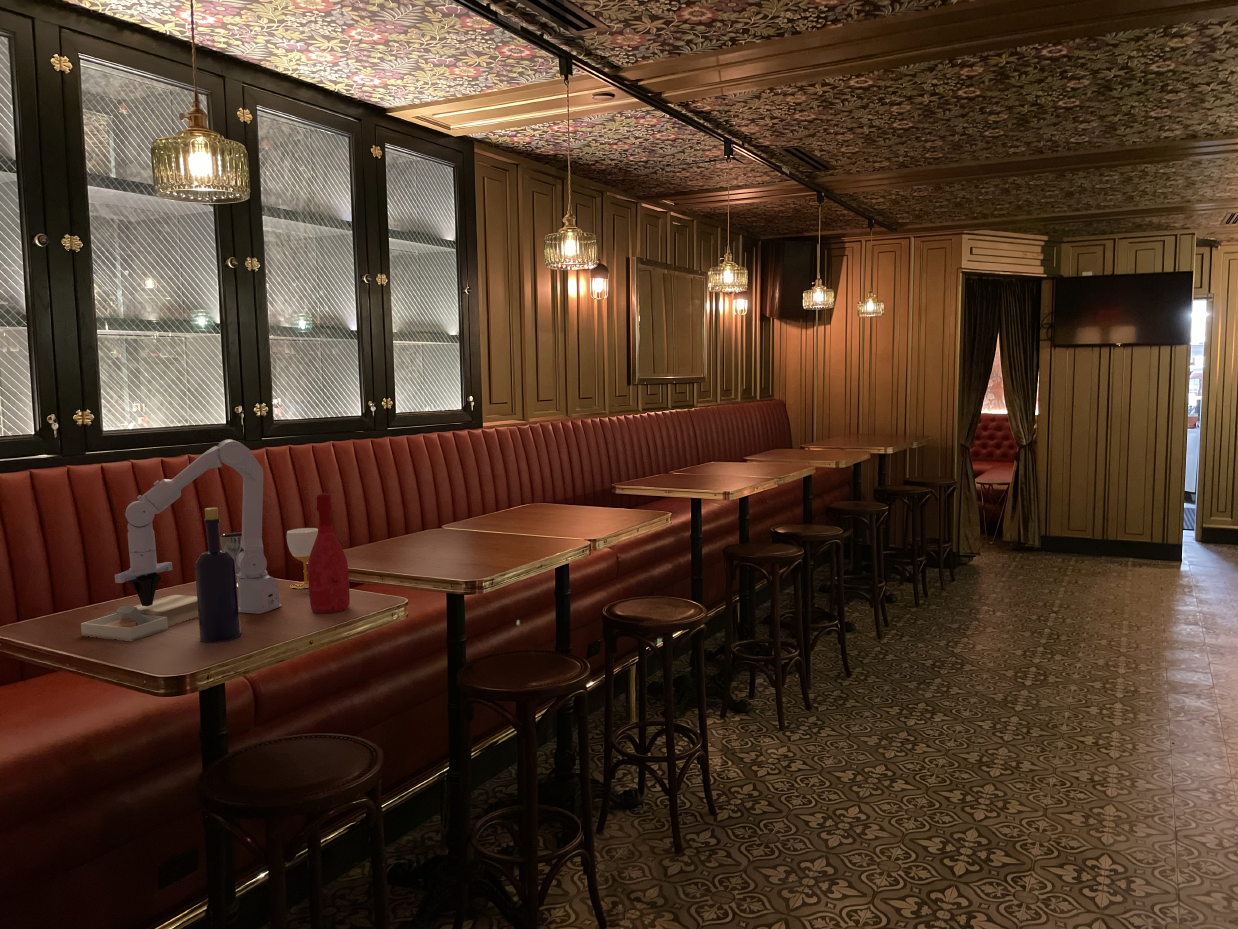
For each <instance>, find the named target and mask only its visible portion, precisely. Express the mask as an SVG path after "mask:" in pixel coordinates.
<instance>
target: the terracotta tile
mask: <svg viewBox="0 0 1238 929" xmlns="http://www.w3.org/2000/svg"><path fill="white" fill-rule="evenodd" d="M105 625H108V626H117V627H127V628H132V627H135V626H136V621H127V620H118V621H115V622H112V623H108V624H105Z"/></svg>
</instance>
